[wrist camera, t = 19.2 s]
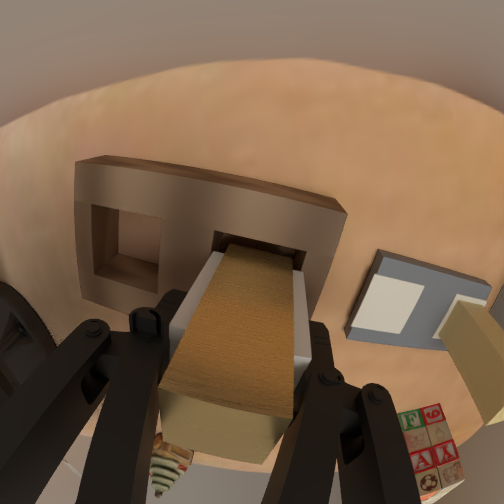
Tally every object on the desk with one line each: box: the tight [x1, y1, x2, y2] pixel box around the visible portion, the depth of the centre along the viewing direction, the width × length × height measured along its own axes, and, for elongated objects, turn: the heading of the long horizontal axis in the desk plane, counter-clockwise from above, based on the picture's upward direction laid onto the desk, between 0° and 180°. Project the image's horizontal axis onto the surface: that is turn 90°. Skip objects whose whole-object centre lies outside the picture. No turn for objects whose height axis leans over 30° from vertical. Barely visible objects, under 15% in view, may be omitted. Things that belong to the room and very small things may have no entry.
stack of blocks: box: [397, 403, 465, 504], centre depth 23 cm, size 21×6×12 cm, turn 6°
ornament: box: [149, 434, 194, 498], centre depth 28 cm, size 8×6×10 cm
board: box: [344, 249, 504, 426], centre depth 14 cm, size 12×7×11 cm, turn 79°
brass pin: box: [158, 243, 294, 465], centre depth 11 cm, size 4×4×10 cm
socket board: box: [74, 155, 348, 320], centre depth 17 cm, size 16×10×4 cm, turn 79°
